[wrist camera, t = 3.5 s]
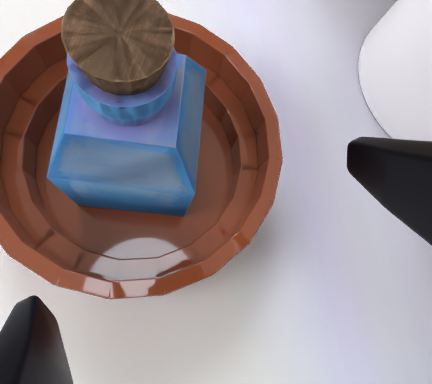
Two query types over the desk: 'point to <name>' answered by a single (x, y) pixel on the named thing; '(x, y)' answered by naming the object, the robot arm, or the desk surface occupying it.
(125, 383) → the desk surface
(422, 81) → the canister
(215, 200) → the bowl
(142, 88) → the perfume bottle
